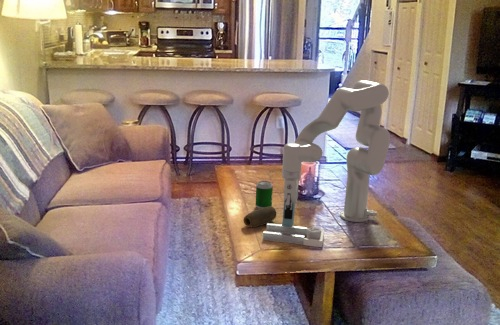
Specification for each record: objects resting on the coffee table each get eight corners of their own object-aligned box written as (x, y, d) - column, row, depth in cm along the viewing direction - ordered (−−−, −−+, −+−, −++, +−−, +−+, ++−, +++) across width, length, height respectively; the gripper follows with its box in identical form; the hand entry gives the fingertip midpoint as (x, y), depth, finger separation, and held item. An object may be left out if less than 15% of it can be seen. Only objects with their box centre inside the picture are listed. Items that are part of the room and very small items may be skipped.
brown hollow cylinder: (264, 217, 221) (265, 202, 219) (277, 221, 216) (278, 207, 215) (241, 226, 210) (241, 211, 208) (254, 231, 206) (254, 216, 204)
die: (319, 245, 195) (320, 233, 194) (306, 243, 196) (307, 231, 195) (320, 239, 200) (321, 228, 198) (307, 238, 201) (308, 226, 199)
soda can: (270, 211, 228) (271, 186, 225) (253, 209, 229) (254, 184, 226) (272, 205, 235) (274, 181, 232) (257, 204, 236) (258, 179, 233)
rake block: (293, 224, 213) (295, 196, 210) (291, 229, 207) (294, 201, 204) (283, 222, 213) (286, 195, 211) (281, 227, 208) (284, 199, 205)
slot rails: (306, 234, 204) (306, 227, 203) (303, 244, 195) (304, 237, 194) (267, 229, 207) (267, 223, 206) (262, 239, 198) (263, 232, 197)
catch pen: (323, 235, 203) (324, 230, 203) (321, 247, 193) (322, 241, 192) (306, 233, 205) (306, 228, 204) (303, 245, 194) (303, 239, 194)
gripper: (298, 181, 195) (295, 224, 200) (302, 169, 212) (300, 209, 217) (279, 179, 197) (277, 222, 202) (285, 167, 213) (283, 207, 218)
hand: (289, 215), depth 209 cm, fingers closed on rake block, 6 cm apart
